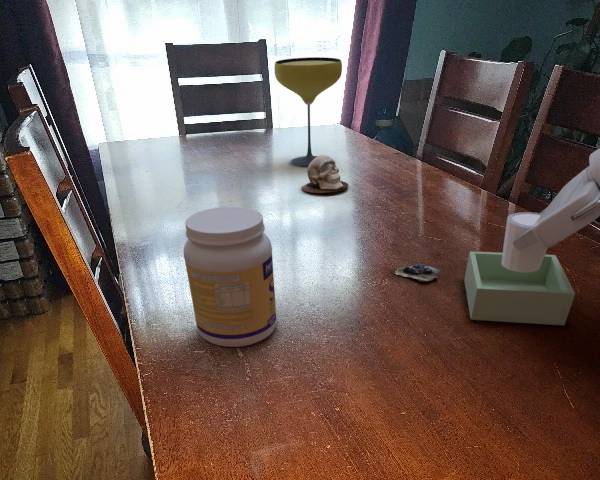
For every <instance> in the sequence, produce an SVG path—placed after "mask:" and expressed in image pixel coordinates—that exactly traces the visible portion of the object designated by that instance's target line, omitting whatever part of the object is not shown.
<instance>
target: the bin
mask: <svg viewBox="0 0 600 480" xmlns="http://www.w3.org/2000/svg"><path fill="white" fill-rule="evenodd" d="M502 254H503V252H494V251H492V252H491V251H469V254H468V259H467V263H466V269H465V275H464V288H465V293H466V294H465V295H466V300H467V306H468V311H469V312H468V313H469V318H470V320H472V321H488V322H500V323H501V322H504V323H519V324H532V325H533V324H535V325H549V326H550V325H552V326H565V324H566V322H567V318H568V316H569V313H570V311H571V308H572V305H573V302H574V299H575V296H576V292H575V290H574V288H573V286H572V285H571V284H572V283H571V282H570V280H569V279H568V277H567V275H566V273H565V270H564V269H563V267H562V265H561V263H560V261H559V259H558V257H557V255H556V254H545V256H544V258H543V261H542V263H541V266H540V268H539V269H538V270H537V271H534V272H528V273H522V272H515V271H511V270H508V269H506V268H505V267H503V266H502V264H501V262H502Z"/></svg>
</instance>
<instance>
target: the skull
mask: <svg viewBox="0 0 600 480" xmlns="http://www.w3.org/2000/svg"><path fill="white" fill-rule="evenodd" d="M317 156H318V157H316V158H315V159H314V160H313V161H312V162H311V163H310V164H309V166H308V167H307V169H306V173H307V177H308V181H309V182H307V183H306V184H304V185H302V186H301V190H302V191H303V192H307V193H315V194H323V193H324V194H326V193H334V192H338V191H344V190H346V189H348V187H349V183H347V182H346V181H343V180H341V175H340V174H339V172H340V169H339V167H338V166H337V165H336V160H334V159H333V158H332V157H330V155H326V154H320V155H317Z"/></svg>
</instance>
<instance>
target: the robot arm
mask: <svg viewBox="0 0 600 480" xmlns="http://www.w3.org/2000/svg"><path fill="white" fill-rule="evenodd" d="M588 158H589V159H588V163H589V165H588V166H587V167H586V168H584V169H583V170H582V171H581V172H579V173H578V174H576V176H574V177H573V178H572V179H571V180H569V181H568V182H567V183H566V184H565V185H564V186H562V188H561V189H560V191H558V193H557V194H556V196H554V198H553V200H552V201H551V202H550V203H549V204H548V206H547V207H545V209H543V210H542V211H541V212H540V213H539V214H542V215H541V216H540V217H539V219H538V220H537V221H536V222H535V224H534V225H533V226H532V228H531V229H530V230H528V231H526V232H524V233H522V234H521V235H519V236H517V237H516V238H515V239H514V241H513V245H514V246H515V248H516V249H517V250H518V251H521V250H523V249H524V248H526V247H528V246H529V245H532V244H535V243H538V242H540V244H541V245H542V246H543V247H544V248H547V249H549V248H551V247H553V246H556V245H558V244H559V243H561V242H562V241H564V240H565V239H567V238H569V237H571V236H573V235H574V234H575V233H577V232H579V231H581V229H584V228H585V227H587V226H588V225H590V224H591V223H593V222H594V221H595V220H597V219H598V218H599V217H600V147H599V148H597V149H596V150H594V151H593V152H591V154H590V155H589V156H588Z"/></svg>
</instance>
